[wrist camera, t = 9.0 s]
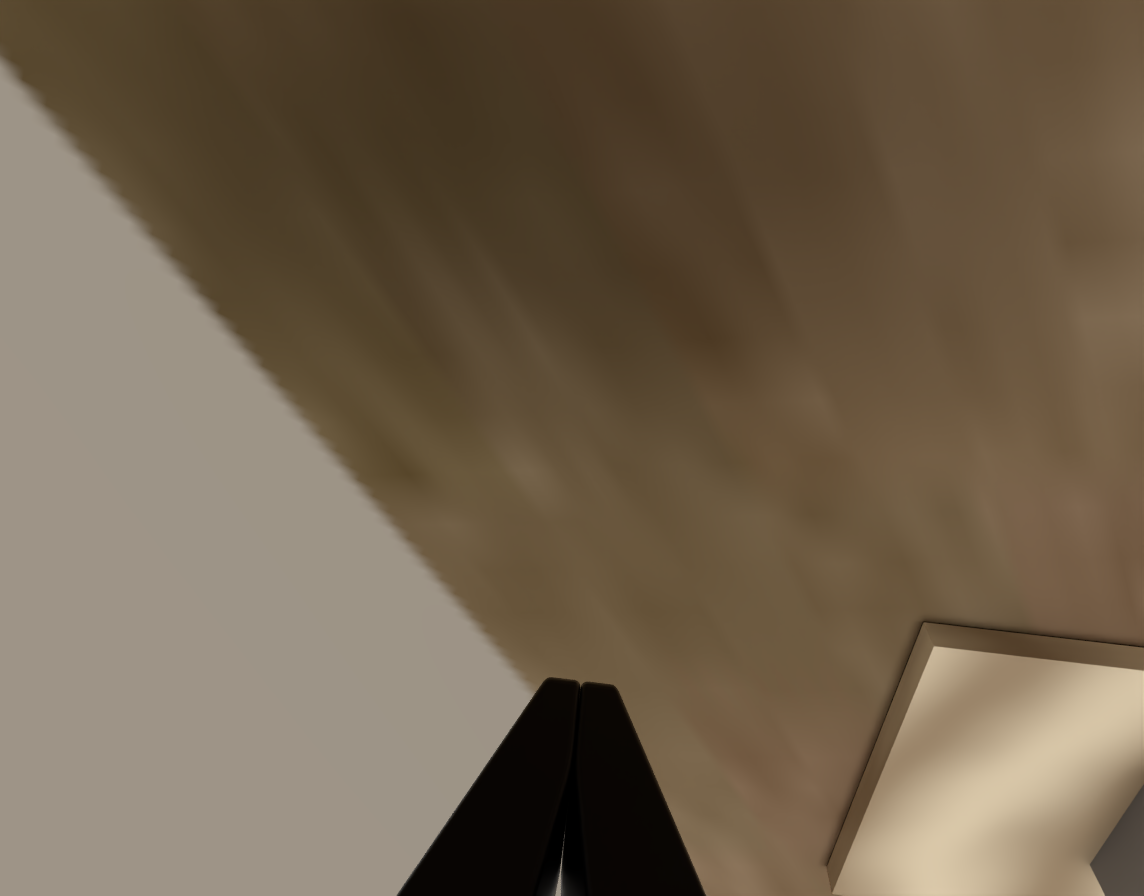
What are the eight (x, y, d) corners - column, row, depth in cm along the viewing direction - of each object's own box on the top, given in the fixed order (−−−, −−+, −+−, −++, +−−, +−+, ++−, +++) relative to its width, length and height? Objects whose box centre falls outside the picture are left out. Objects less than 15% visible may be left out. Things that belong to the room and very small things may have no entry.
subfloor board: (1518, 648, 22) (1558, 678, 21) (1249, 946, 30) (1268, 978, 29) (939, 582, 23) (952, 609, 22) (817, 891, 30) (822, 921, 29)
